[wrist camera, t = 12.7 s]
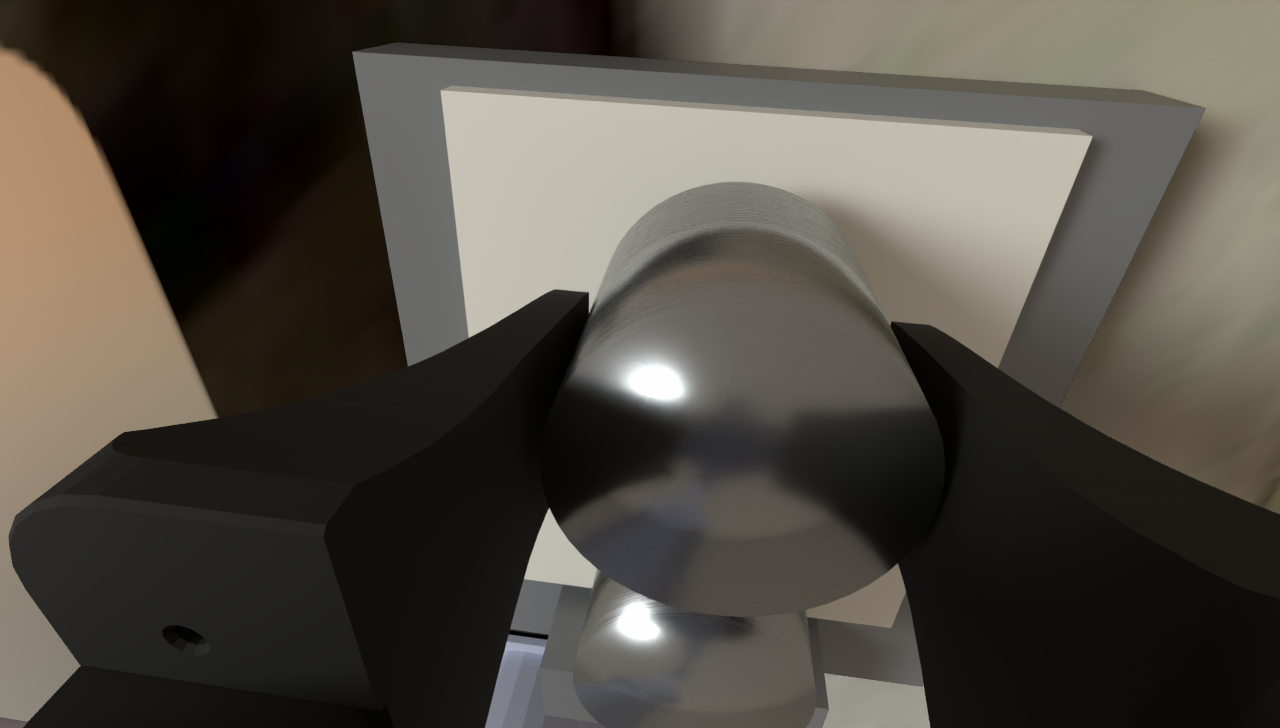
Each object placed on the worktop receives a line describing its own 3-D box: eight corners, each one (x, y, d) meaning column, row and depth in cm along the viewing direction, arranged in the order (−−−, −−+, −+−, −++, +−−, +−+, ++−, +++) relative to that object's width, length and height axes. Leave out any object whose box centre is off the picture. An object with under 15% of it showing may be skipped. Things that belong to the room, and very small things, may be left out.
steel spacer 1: (855, 413, 13) (919, 621, 9) (618, 419, 14) (573, 612, 10) (874, 170, 11) (976, 297, 6) (583, 193, 11) (501, 320, 7)
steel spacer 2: (774, 592, 18) (786, 776, 14) (606, 565, 19) (568, 737, 15) (815, 463, 16) (845, 642, 12) (618, 433, 16) (577, 597, 12)
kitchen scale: (907, 633, 23) (953, 804, 18) (473, 575, 24) (410, 720, 19) (1144, 90, 13) (1374, 155, 8) (396, 42, 14) (235, 75, 10)
